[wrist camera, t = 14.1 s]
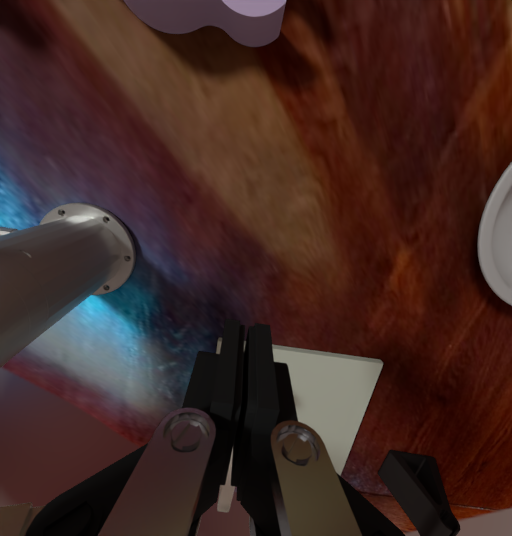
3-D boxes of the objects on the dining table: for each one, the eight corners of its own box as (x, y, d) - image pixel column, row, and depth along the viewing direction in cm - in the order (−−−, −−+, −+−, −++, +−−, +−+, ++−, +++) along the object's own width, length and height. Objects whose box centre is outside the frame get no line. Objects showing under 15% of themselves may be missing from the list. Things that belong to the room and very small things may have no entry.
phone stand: (376, 471, 54) (409, 552, 43) (389, 449, 52) (427, 527, 41) (420, 478, 55) (464, 559, 44) (434, 457, 53) (483, 535, 42)
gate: (239, 373, 44) (236, 418, 36) (251, 375, 44) (250, 420, 37) (222, 457, 50) (216, 511, 42) (232, 458, 50) (228, 512, 43)
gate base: (200, 457, 52) (187, 534, 41) (218, 337, 44) (207, 393, 33) (338, 472, 54) (359, 549, 43) (380, 359, 45) (420, 420, 35)
